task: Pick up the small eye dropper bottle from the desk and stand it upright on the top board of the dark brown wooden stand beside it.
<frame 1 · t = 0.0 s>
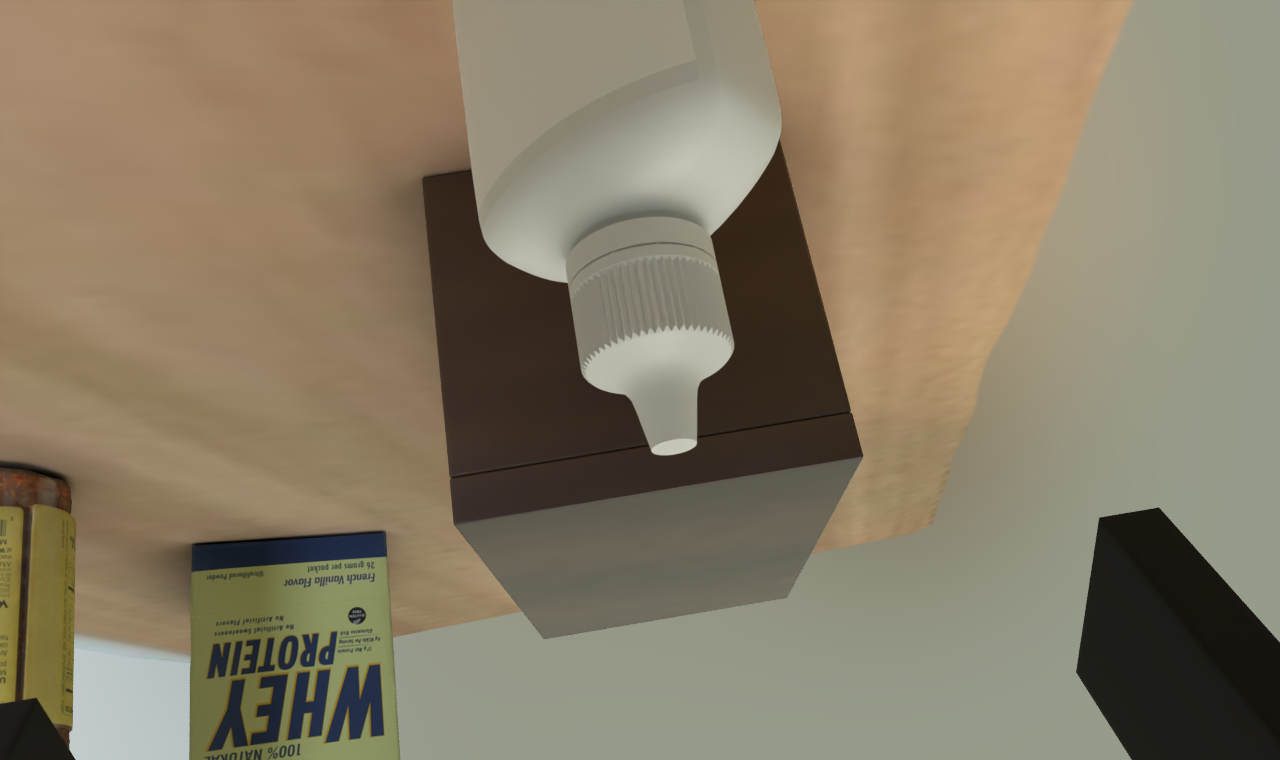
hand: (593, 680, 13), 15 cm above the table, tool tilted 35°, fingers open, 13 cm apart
dark brown wooden stand: (616, 299, 36), on the table
protein box: (289, 568, 62), on the table
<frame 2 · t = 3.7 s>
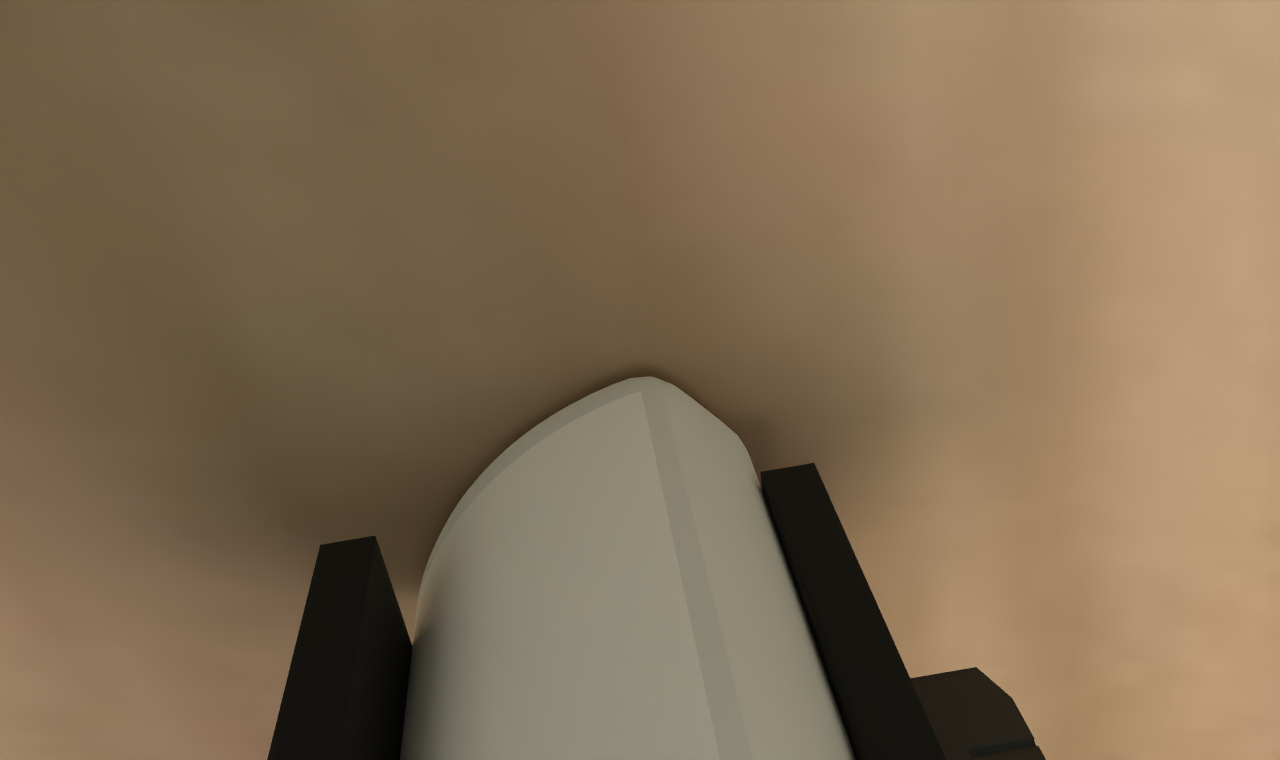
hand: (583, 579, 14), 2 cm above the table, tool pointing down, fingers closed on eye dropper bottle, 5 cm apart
eye dropper bottle: (576, 503, 16), on the table, touching gripper
when the fingers open (12 cm above the table, at t = 9.9 s): eye dropper bottle stays where it is, resting on dark brown wooden stand.
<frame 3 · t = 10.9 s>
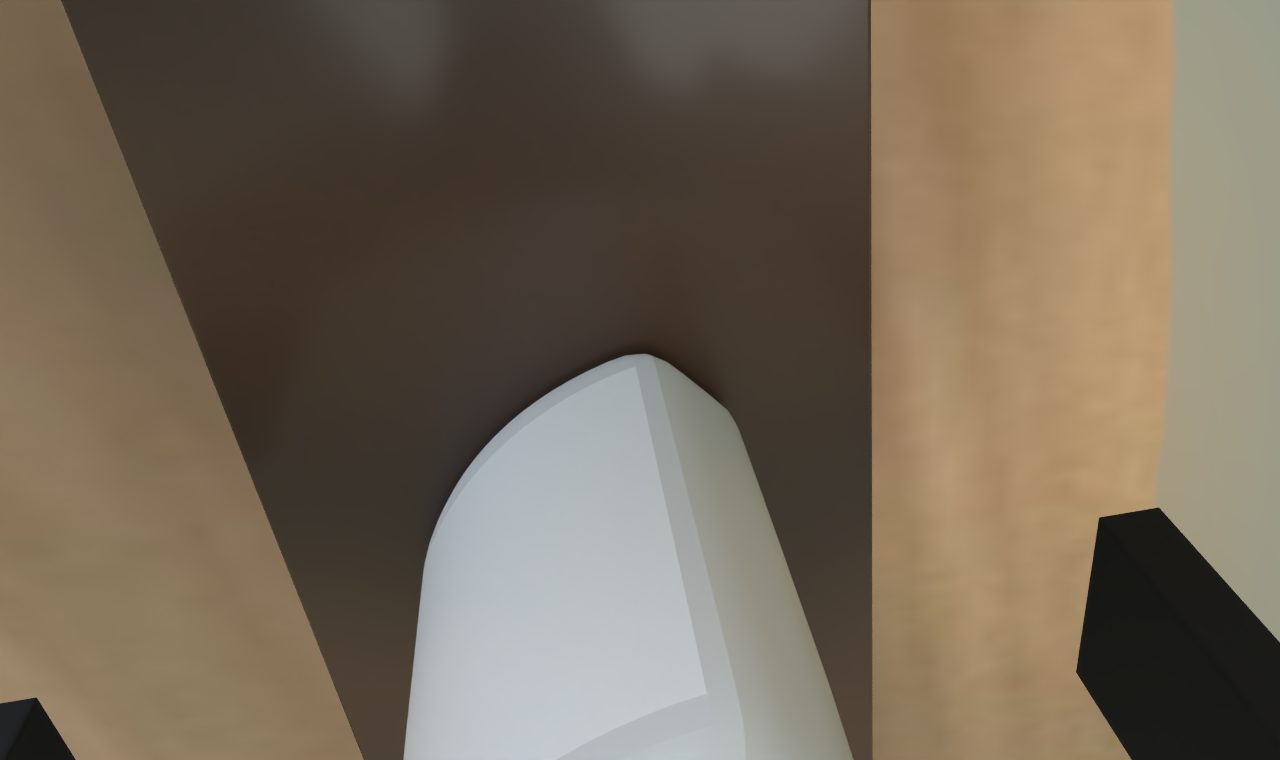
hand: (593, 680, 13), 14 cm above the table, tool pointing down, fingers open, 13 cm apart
dark brown wooden stand: (552, 244, 25), on the table
eye dropper bottle: (574, 476, 17), point 10 cm above the table, touching dark brown wooden stand
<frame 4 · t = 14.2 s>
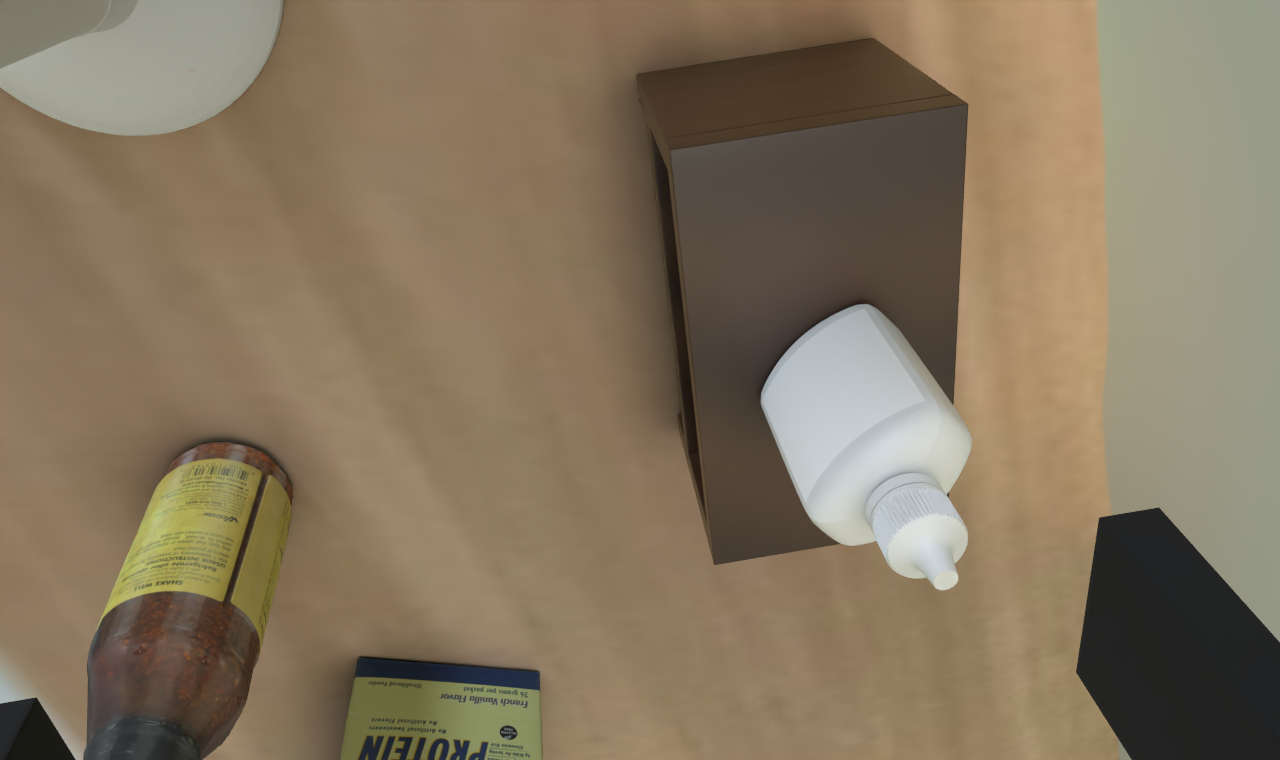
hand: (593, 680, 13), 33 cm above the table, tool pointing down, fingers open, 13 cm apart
dark brown wooden stand: (767, 254, 46), on the table
protein box: (434, 750, 61), on the table
eye dropper bottle: (825, 360, 38), point 10 cm above the table, touching dark brown wooden stand
sauce bottle: (236, 486, 50), on the table
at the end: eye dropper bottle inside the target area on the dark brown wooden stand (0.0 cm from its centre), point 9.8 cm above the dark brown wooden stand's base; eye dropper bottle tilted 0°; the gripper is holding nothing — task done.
